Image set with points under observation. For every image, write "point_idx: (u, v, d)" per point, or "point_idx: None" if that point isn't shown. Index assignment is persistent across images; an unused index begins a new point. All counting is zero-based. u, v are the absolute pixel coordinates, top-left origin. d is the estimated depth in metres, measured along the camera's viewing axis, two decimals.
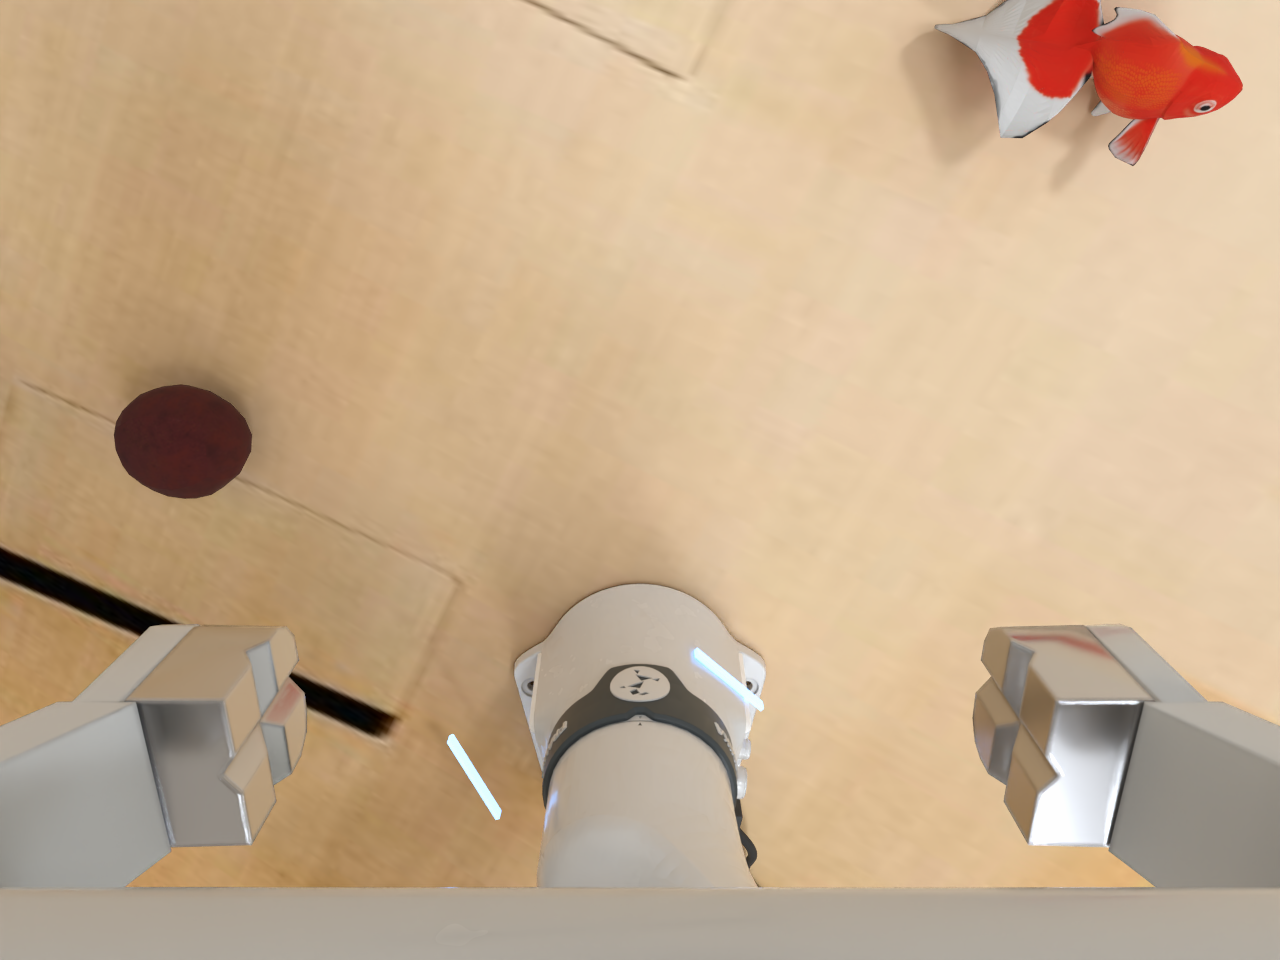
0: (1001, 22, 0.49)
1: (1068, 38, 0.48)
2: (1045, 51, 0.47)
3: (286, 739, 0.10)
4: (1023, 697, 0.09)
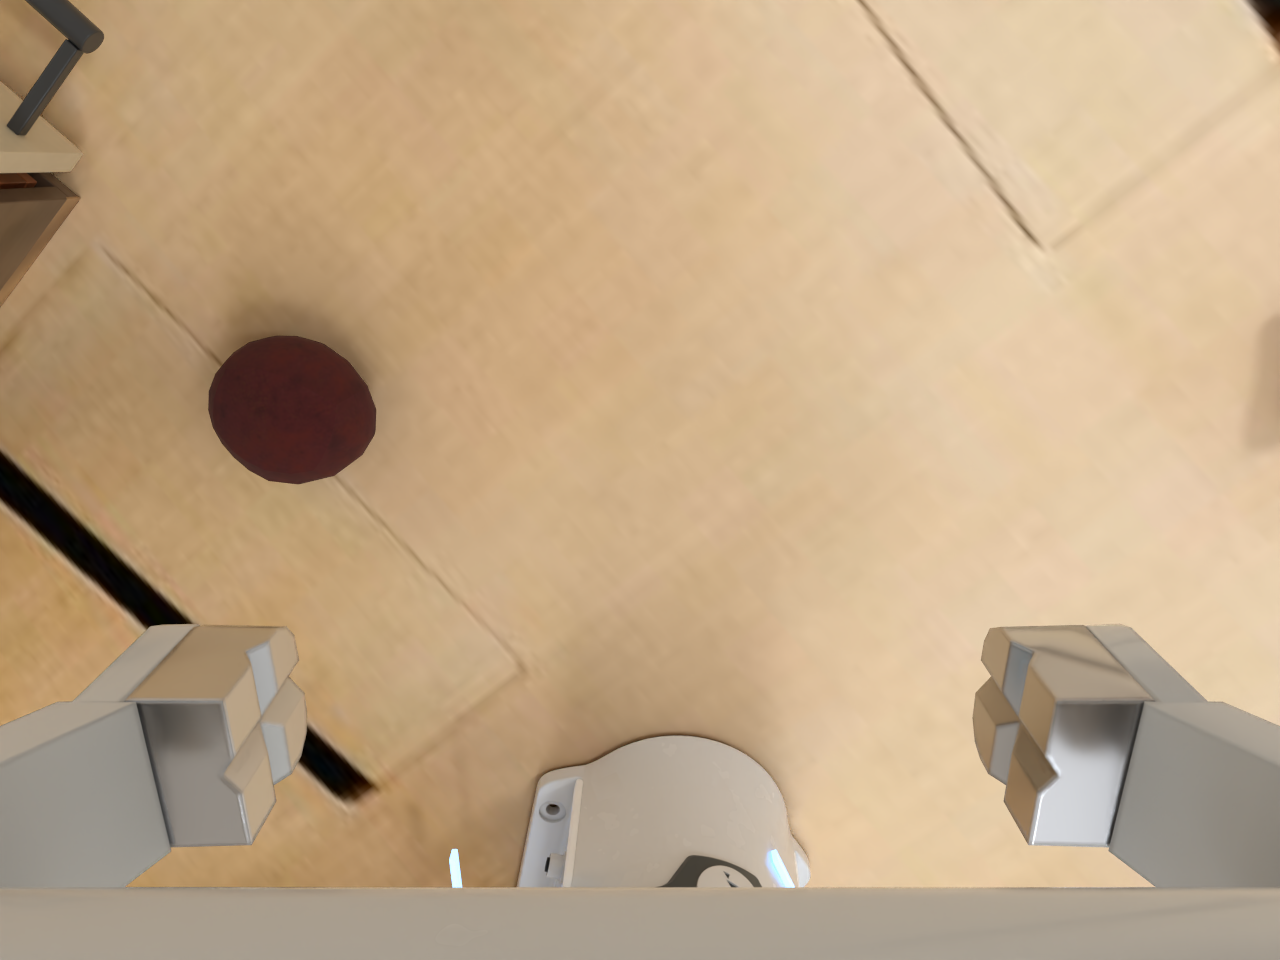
0: None
1: None
2: None
3: (286, 739, 0.10)
4: (1023, 697, 0.09)
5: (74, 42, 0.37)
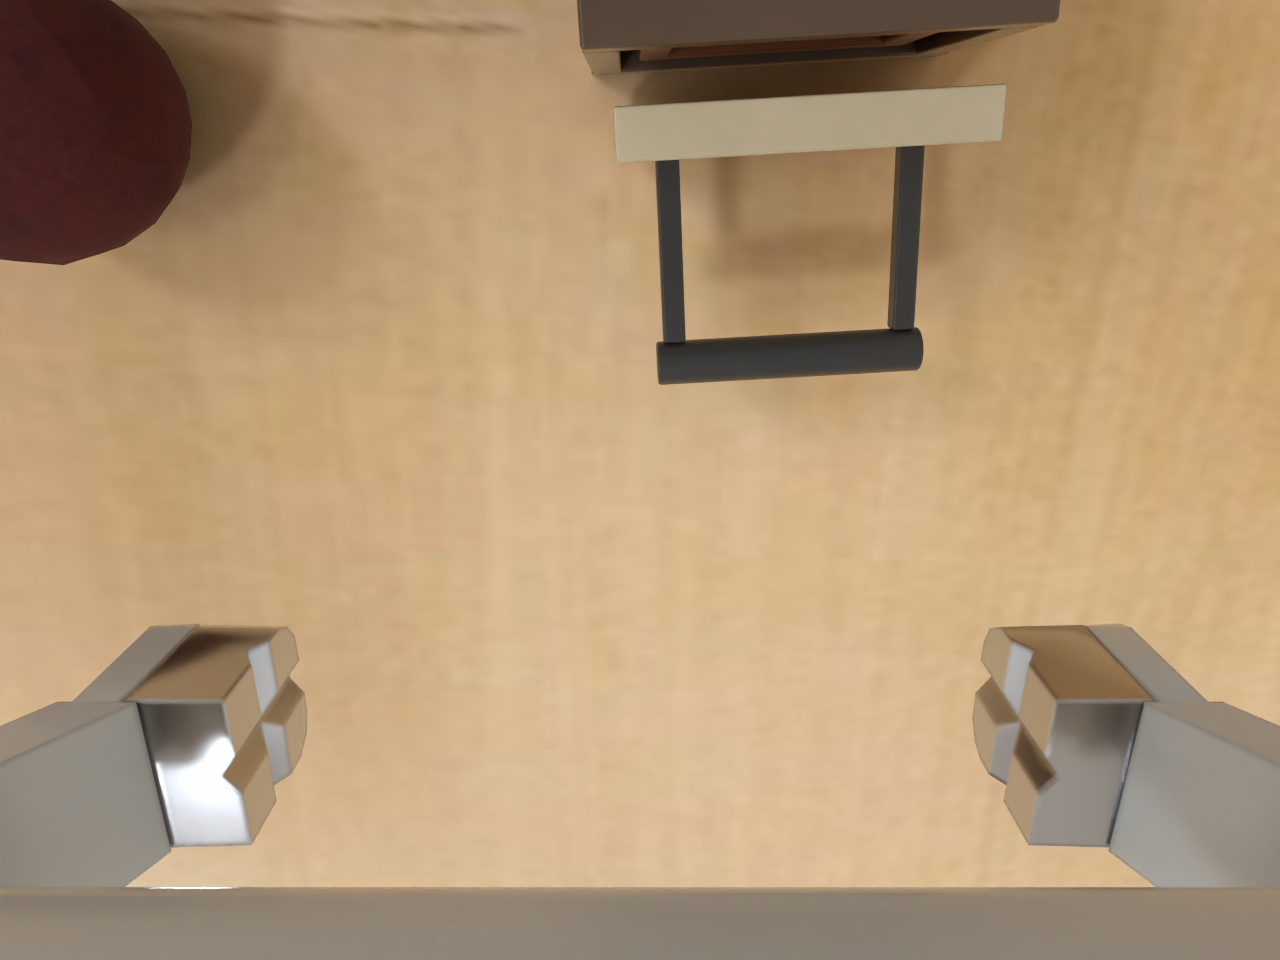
0: None
1: None
2: None
3: (286, 739, 0.10)
4: (1023, 697, 0.09)
5: (671, 350, 0.24)
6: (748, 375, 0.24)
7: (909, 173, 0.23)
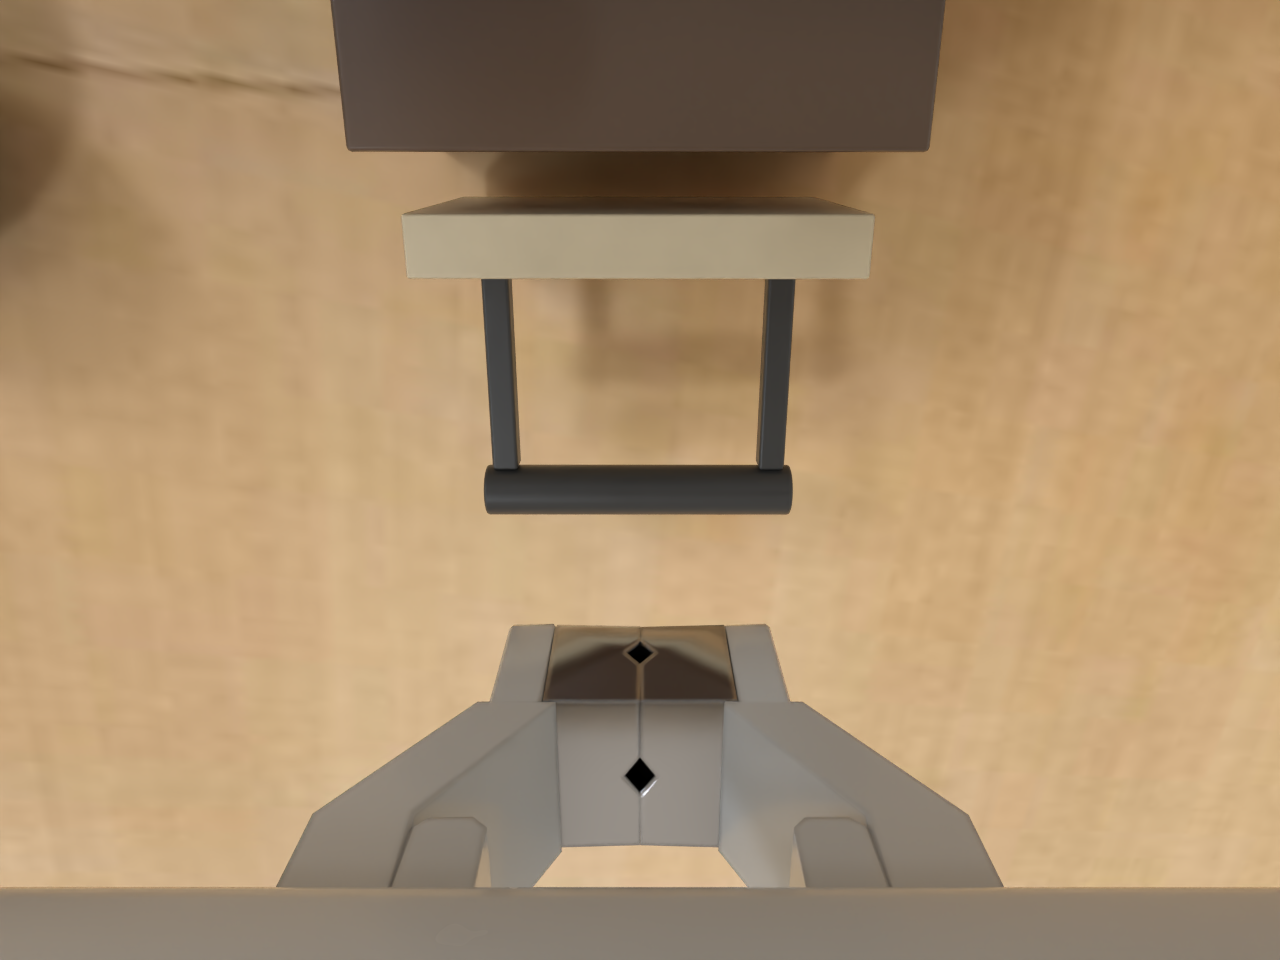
0: None
1: None
2: None
3: None
4: None
5: (500, 479, 0.21)
6: (589, 511, 0.21)
7: (777, 296, 0.19)
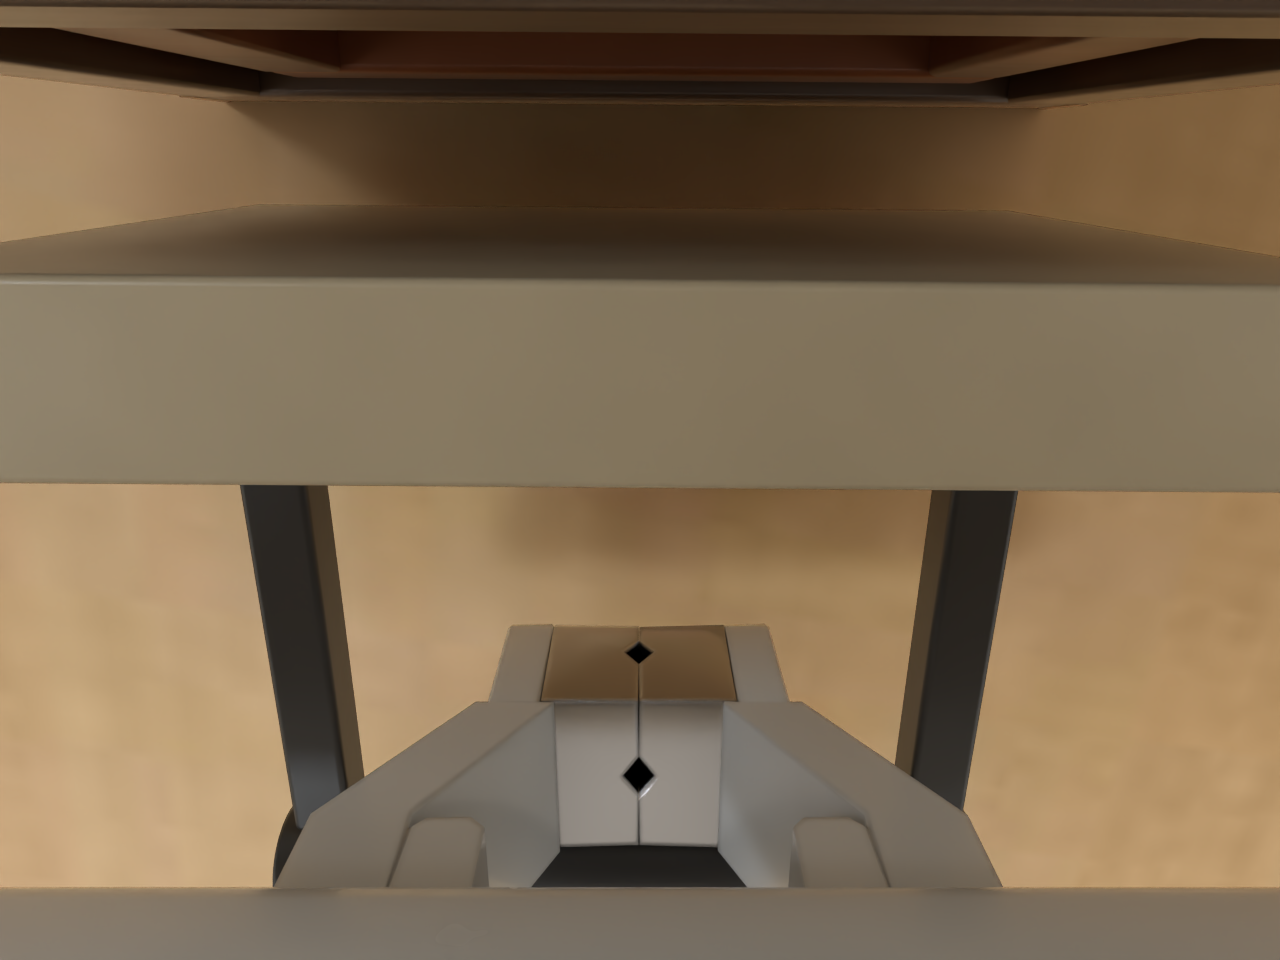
0: None
1: None
2: None
3: None
4: None
5: None
6: None
7: None
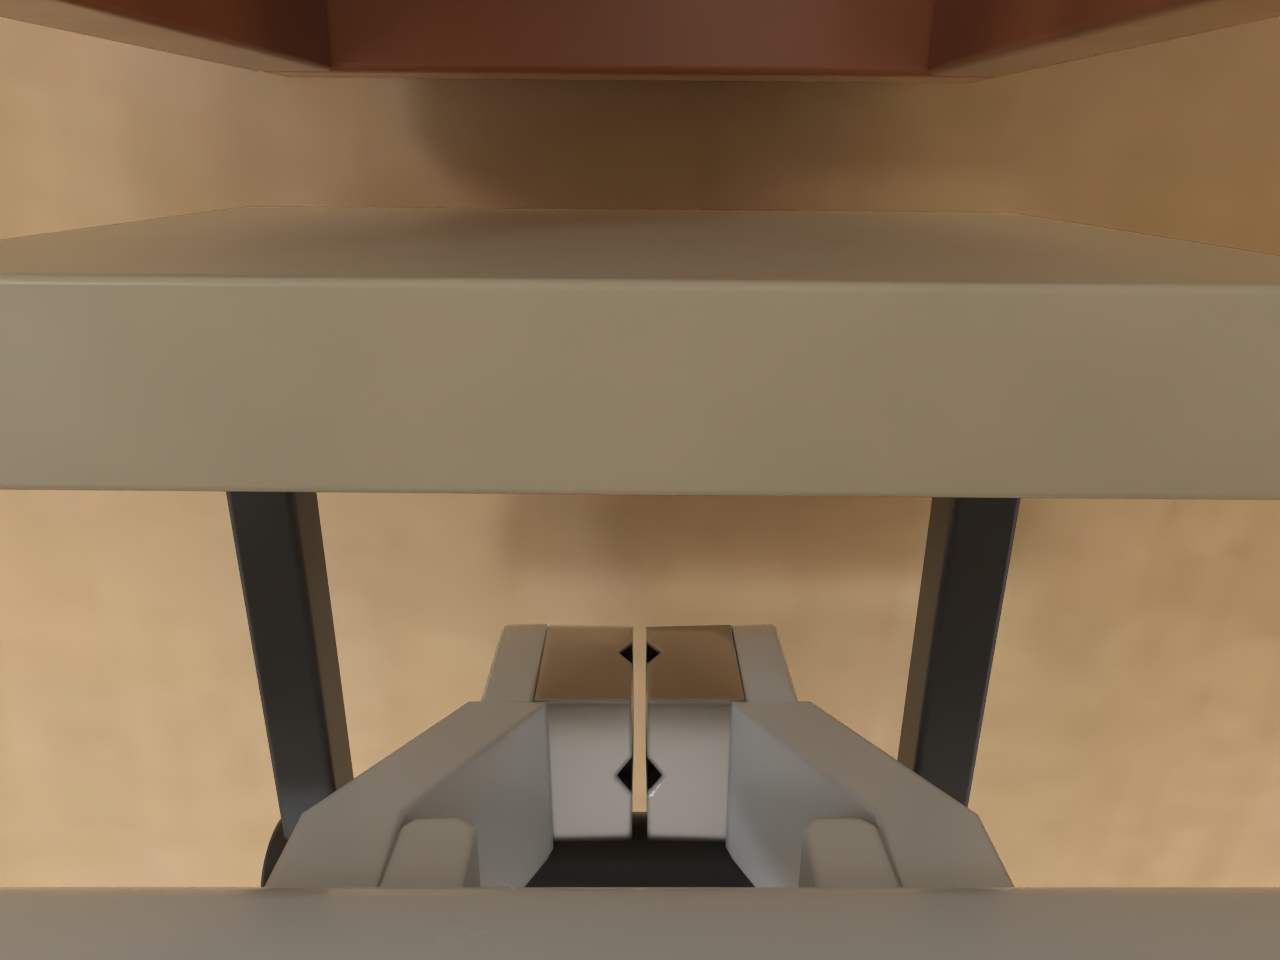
0: None
1: None
2: None
3: (631, 739, 0.10)
4: None
5: None
6: None
7: None
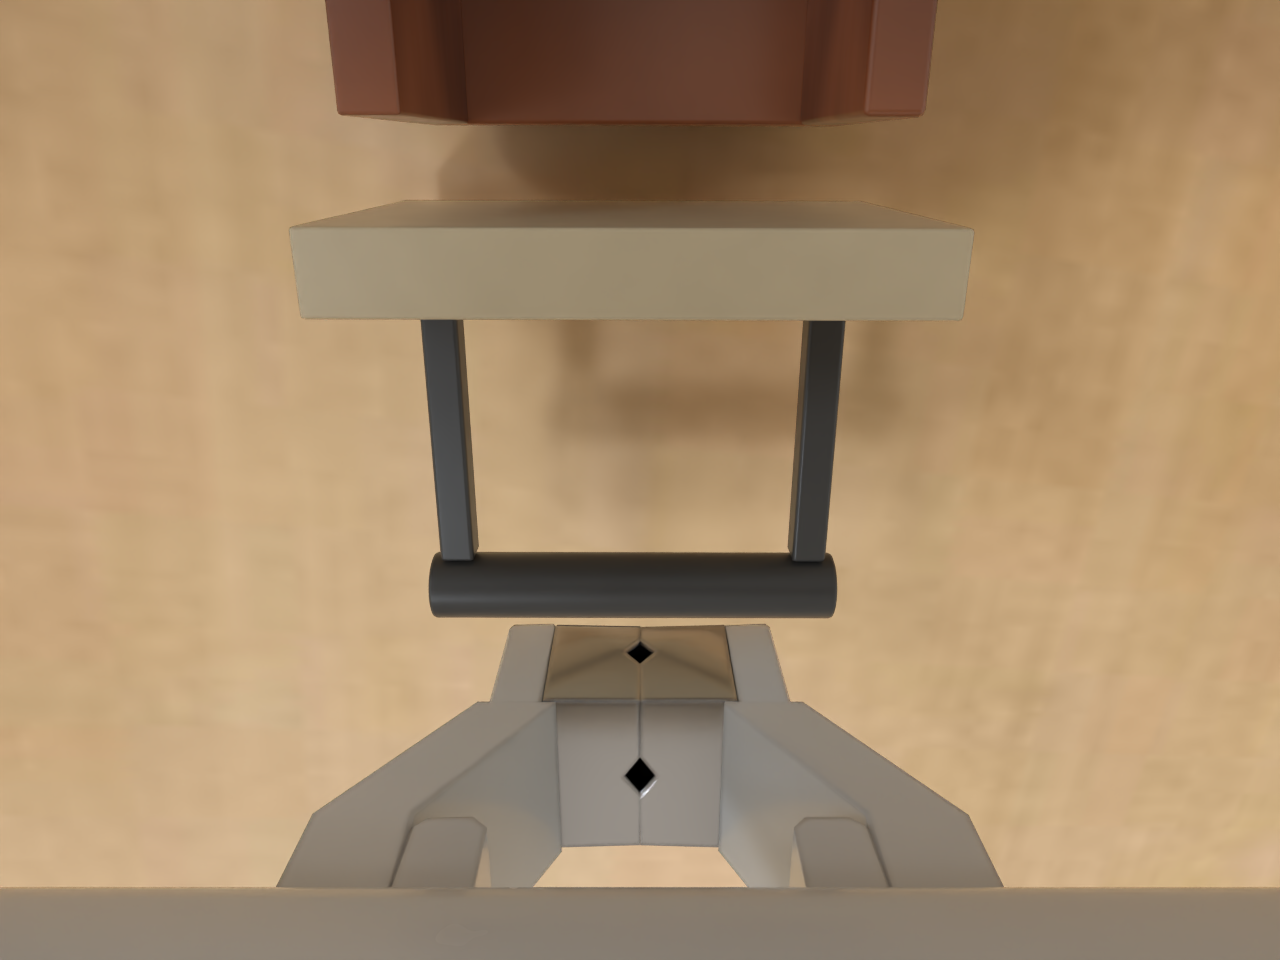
0: None
1: None
2: None
3: None
4: None
5: (450, 573, 0.16)
6: (568, 615, 0.16)
7: (822, 336, 0.14)
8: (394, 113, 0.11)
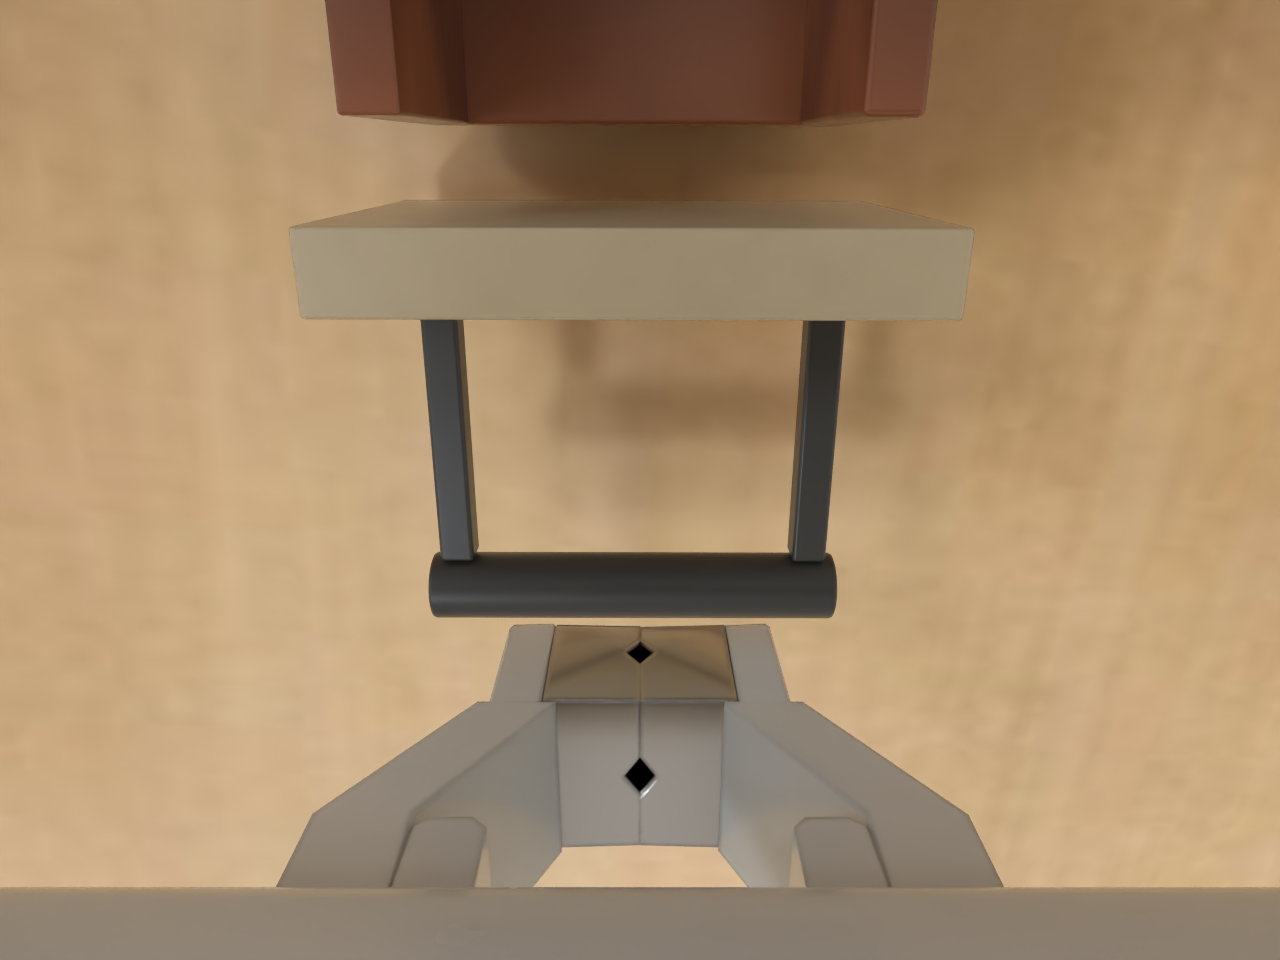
0: None
1: None
2: None
3: None
4: None
5: (450, 573, 0.16)
6: (568, 615, 0.16)
7: (822, 336, 0.14)
8: (394, 113, 0.11)
